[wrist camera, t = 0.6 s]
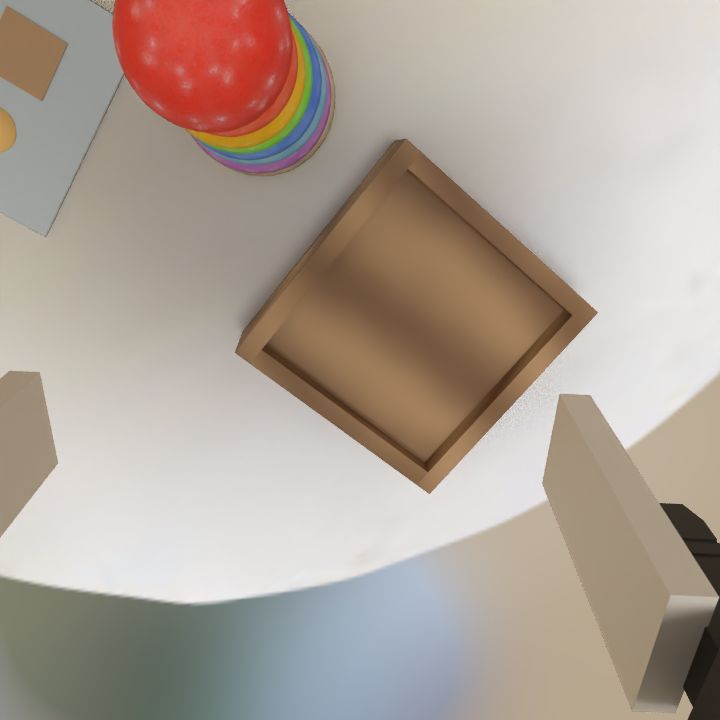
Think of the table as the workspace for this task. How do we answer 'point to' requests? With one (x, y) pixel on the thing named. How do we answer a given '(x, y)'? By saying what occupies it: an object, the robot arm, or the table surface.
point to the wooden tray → (413, 319)
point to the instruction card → (50, 100)
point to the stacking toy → (229, 77)
